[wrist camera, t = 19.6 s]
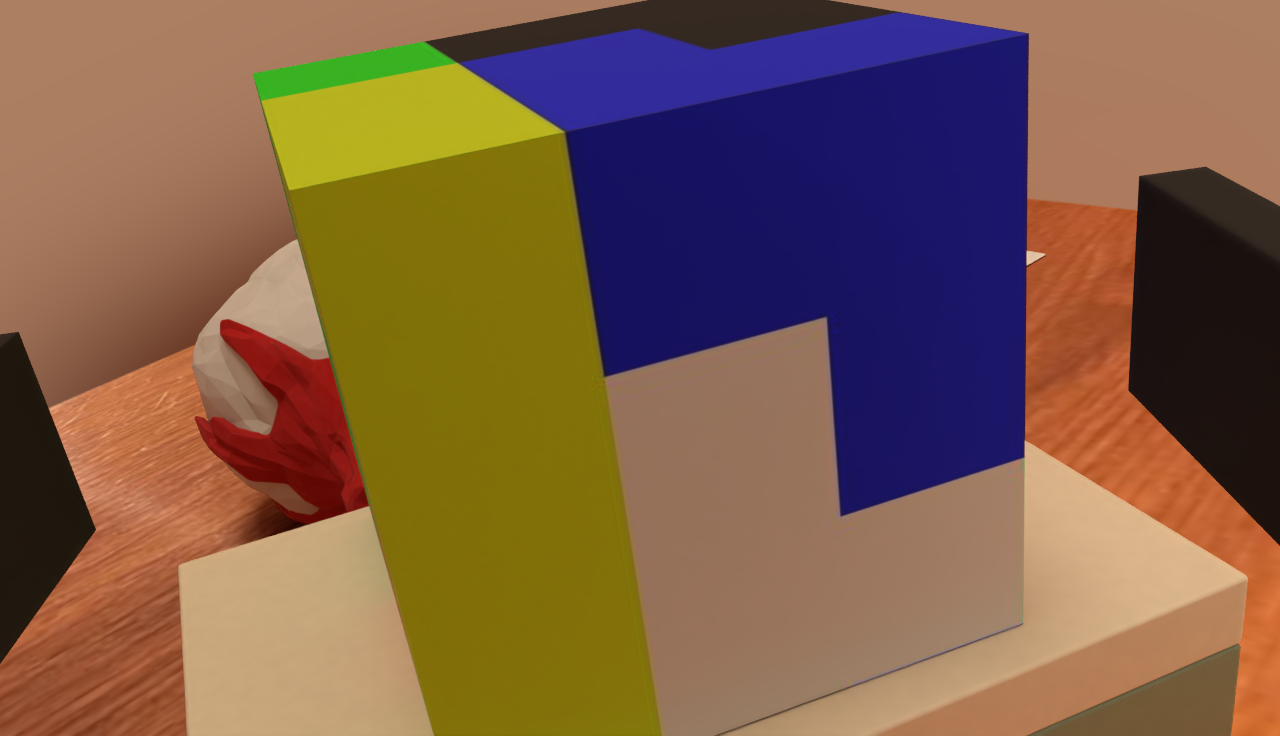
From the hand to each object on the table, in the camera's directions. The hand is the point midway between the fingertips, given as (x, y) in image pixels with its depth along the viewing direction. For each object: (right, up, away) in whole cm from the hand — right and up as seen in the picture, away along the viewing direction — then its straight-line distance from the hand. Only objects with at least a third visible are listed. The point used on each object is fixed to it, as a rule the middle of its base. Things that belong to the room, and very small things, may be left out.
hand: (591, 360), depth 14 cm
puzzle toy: (+1, -4, +9) cm, 10 cm away
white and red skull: (-7, -5, +26) cm, 27 cm away
